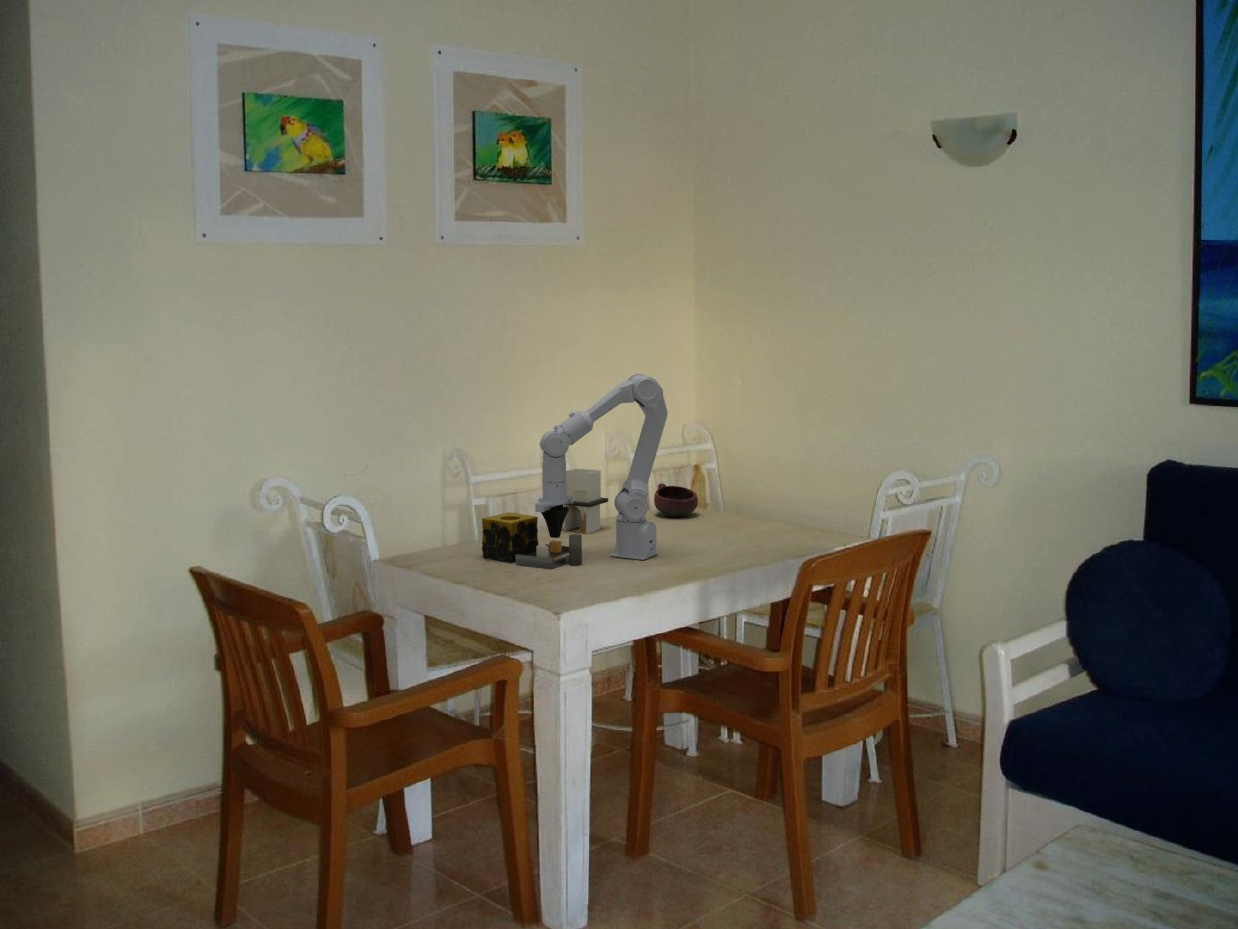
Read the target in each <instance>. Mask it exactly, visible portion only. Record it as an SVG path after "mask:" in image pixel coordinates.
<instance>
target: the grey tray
mask: <svg viewBox="0 0 1238 929" xmlns="http://www.w3.org/2000/svg"><path fill="white" fill-rule="evenodd" d="M544 545H546V546H549V556H548V557H540V556H537V553H536V552H533V553H530V554H528V555H523V554H516V562H515V565H516V566H521V567H523V566H524V567H531V568H539V569H546V570H547V569H548V570H554V569H556V568H559V567H562V566H564V565H566V564H569V545H562V552H559V553H556V552H550V543H544Z"/></svg>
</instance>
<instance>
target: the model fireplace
mask: <svg viewBox="0 0 1238 929" xmlns="http://www.w3.org/2000/svg"><path fill="white" fill-rule="evenodd" d="M601 474H602V473H601V470H600V469H590V468H589V469H588V468H576V467H575V468H572V469H566V495H573V503H572V504H565V505H563V507H569V511H568V513H567V515H566V517H565V520H564V523H563V531H564V532H567V531H569V530H572V529H573V530H574V529H575V528H579V529H578V531H577V532H576V534H579V533H580V534H585V535H586V534H587V535H588V534H590V533H593V532H594V533H595V532H596V531H599V530H601V505H603V504H605V503H606V504H607V503H608V502H609V498H608V497H602V493H601V492H602V490H601V489H602V488H601V485H602V483H601V478H602V477H601V476H602V475H601Z"/></svg>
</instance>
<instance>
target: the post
mask: <svg viewBox="0 0 1238 929" xmlns="http://www.w3.org/2000/svg"><path fill="white" fill-rule="evenodd" d="M582 537H583V536H582V534H581V533H580V534H579V533H572V534H569V535H568V546H569V563H568V565H569V566H571V567H572V566H573V567H577V566H582V565H583V551H582V550H583V539H582Z"/></svg>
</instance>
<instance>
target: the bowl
mask: <svg viewBox="0 0 1238 929" xmlns="http://www.w3.org/2000/svg"><path fill="white" fill-rule="evenodd" d="M698 498H699V497H698V495H697V493H696V492H695V491H693V490H692V489H690V488H687V487H683V486H677V485H666V484H665V483H659V484H658V485H657V489H656V491H655V493H654V499H653V500H654V501H653V502H654V506H655V508H656V509H657V511H659V513H661V514H663V515H667V516H669V517H673V516H680V517H685V516H688V515H690V514H693V512H694V511H696V509H697V508H698V504H699V499H698ZM684 515H685V516H684Z"/></svg>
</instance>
